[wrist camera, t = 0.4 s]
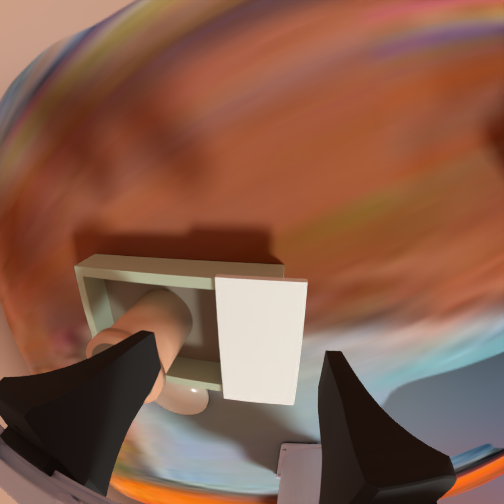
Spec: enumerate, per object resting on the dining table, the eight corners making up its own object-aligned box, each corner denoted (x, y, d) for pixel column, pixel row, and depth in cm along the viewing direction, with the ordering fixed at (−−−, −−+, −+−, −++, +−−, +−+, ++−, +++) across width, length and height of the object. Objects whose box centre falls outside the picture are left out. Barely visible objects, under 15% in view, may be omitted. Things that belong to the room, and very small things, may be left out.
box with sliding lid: (295, 376, 23) (293, 405, 20) (117, 350, 26) (100, 370, 22) (306, 261, 20) (307, 282, 17) (94, 250, 22) (69, 264, 19)
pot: (199, 347, 23) (167, 411, 16) (142, 338, 24) (99, 391, 17) (193, 288, 21) (149, 346, 14) (130, 282, 22) (75, 329, 15)
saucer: (212, 415, 27) (210, 419, 26) (152, 403, 28) (150, 406, 27) (205, 369, 24) (203, 373, 24) (138, 356, 25) (135, 360, 25)
